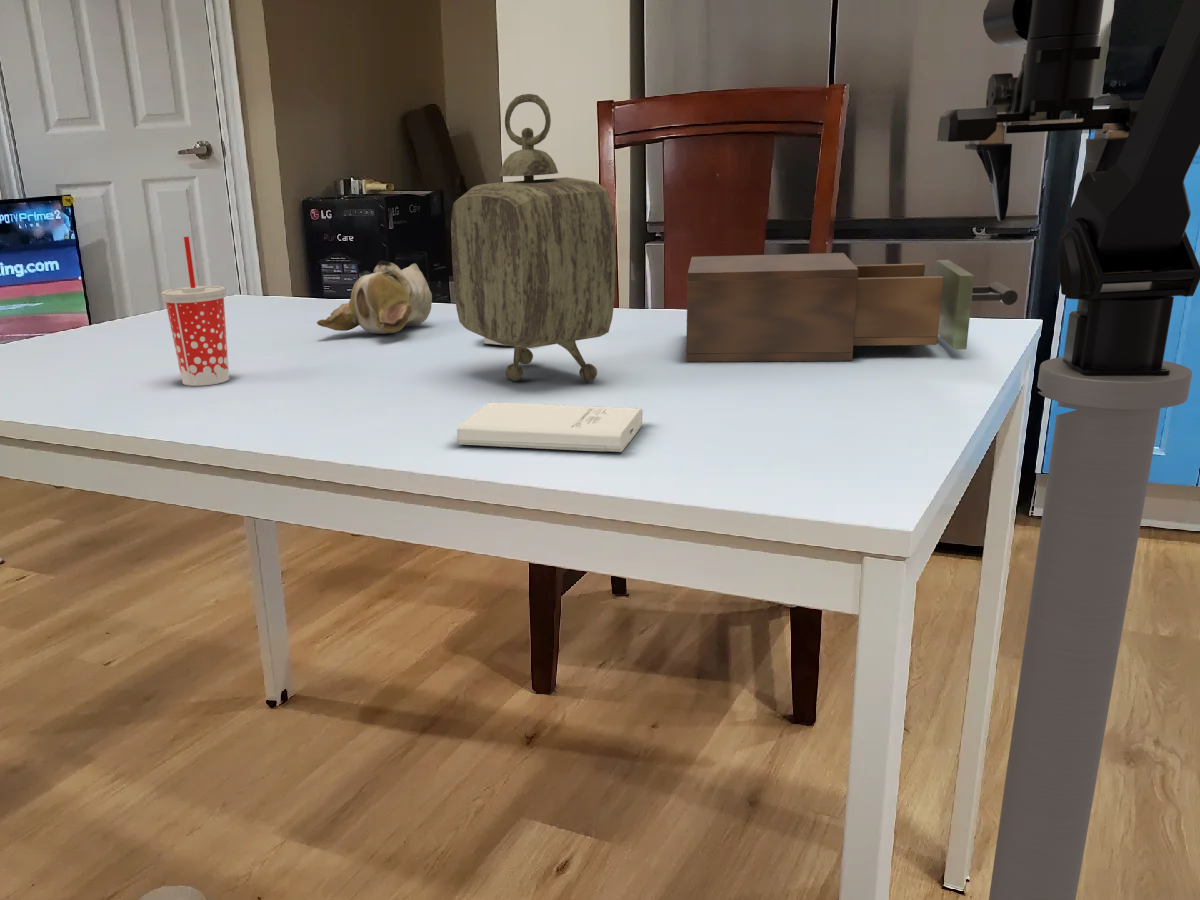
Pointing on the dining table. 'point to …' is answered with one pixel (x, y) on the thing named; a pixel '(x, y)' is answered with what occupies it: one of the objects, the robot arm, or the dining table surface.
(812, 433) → the dining table surface
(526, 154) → the tabletop clock
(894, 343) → the drawer
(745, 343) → the cabinet
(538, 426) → the hard drive
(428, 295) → the ceramic sculpture
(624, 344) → the dining table surface
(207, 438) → the dining table surface
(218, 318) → the beverage cup
